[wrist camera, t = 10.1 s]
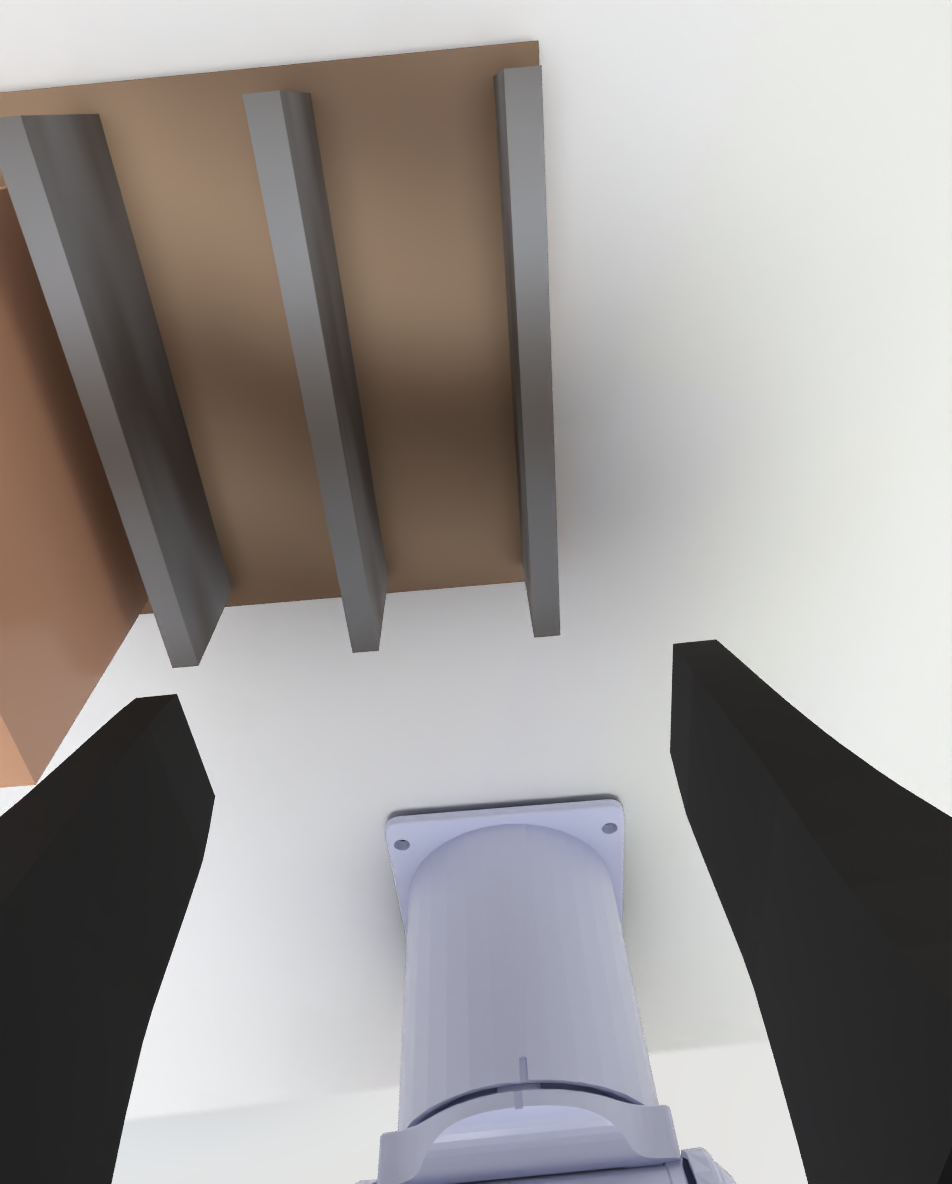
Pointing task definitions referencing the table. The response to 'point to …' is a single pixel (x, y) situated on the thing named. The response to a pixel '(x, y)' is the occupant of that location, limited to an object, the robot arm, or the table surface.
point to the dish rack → (306, 325)
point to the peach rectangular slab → (50, 531)
